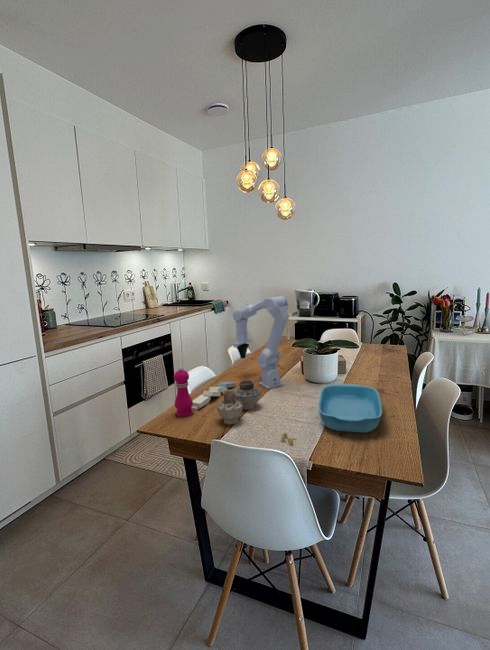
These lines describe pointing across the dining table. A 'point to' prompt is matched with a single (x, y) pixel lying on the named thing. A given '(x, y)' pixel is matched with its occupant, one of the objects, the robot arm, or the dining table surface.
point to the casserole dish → (350, 407)
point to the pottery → (238, 401)
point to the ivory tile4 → (201, 400)
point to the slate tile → (226, 384)
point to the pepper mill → (182, 394)
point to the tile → (211, 393)
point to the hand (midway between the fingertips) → (243, 357)
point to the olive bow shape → (287, 439)
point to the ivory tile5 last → (198, 407)
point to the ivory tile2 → (217, 389)
